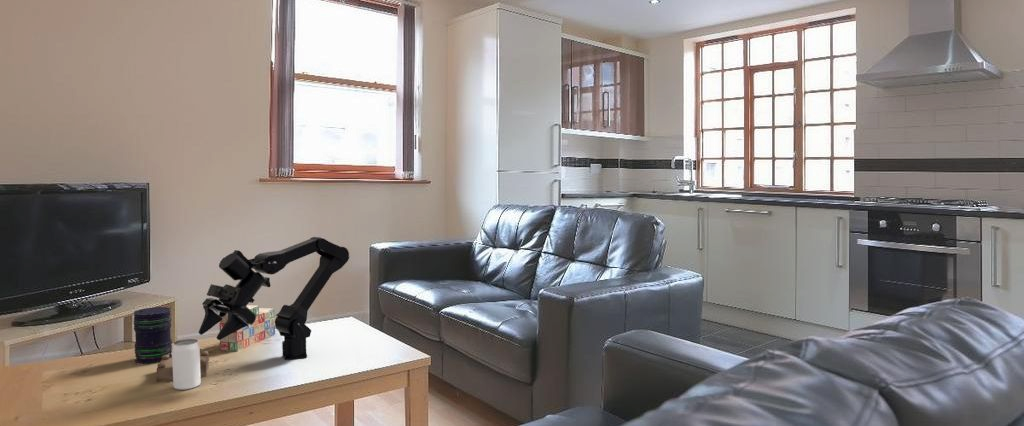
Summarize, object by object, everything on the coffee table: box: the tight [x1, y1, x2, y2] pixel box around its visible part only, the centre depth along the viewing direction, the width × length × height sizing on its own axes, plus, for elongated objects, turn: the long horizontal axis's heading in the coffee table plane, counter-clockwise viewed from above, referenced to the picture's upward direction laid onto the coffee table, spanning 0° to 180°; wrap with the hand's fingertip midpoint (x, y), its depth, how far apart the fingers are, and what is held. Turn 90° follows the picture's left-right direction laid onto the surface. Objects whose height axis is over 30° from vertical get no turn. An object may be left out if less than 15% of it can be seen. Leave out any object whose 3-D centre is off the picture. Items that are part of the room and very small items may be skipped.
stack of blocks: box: [218, 304, 276, 352], centre depth 208 cm, size 21×6×12 cm, turn 169°
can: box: [171, 338, 202, 391], centre depth 165 cm, size 6×6×12 cm
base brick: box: [156, 350, 210, 382], centre depth 176 cm, size 12×10×4 cm
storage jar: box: [133, 306, 173, 365], centre depth 189 cm, size 10×10×15 cm
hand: (208, 336), depth 170 cm, fingers open, 9 cm apart
